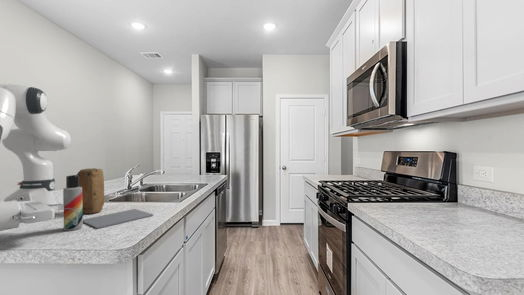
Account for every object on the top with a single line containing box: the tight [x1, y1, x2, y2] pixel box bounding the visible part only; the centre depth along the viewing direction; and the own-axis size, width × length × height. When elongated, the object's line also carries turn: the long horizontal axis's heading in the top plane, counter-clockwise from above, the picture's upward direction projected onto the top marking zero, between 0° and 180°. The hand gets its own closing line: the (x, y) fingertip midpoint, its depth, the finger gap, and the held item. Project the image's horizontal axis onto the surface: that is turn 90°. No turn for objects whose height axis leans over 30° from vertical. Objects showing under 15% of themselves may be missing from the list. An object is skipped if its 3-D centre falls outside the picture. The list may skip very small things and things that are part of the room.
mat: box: [83, 208, 154, 230], centre depth 108 cm, size 22×16×1 cm
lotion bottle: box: [62, 174, 84, 232], centre depth 95 cm, size 6×6×20 cm
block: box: [76, 168, 105, 215], centre depth 118 cm, size 11×8×20 cm
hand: (62, 206), depth 93 cm, fingers closed
